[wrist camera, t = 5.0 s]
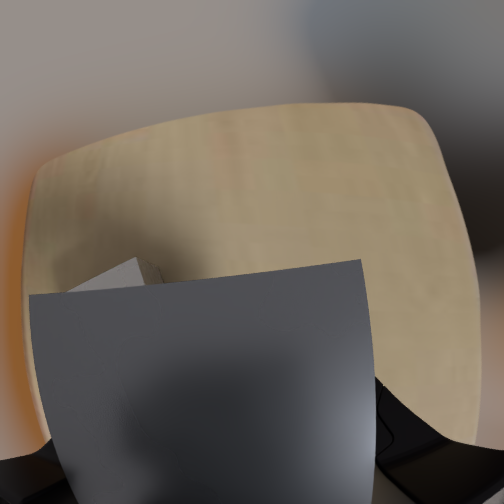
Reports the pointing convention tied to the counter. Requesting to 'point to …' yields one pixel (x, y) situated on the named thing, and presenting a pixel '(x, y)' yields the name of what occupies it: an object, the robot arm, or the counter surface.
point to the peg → (212, 388)
